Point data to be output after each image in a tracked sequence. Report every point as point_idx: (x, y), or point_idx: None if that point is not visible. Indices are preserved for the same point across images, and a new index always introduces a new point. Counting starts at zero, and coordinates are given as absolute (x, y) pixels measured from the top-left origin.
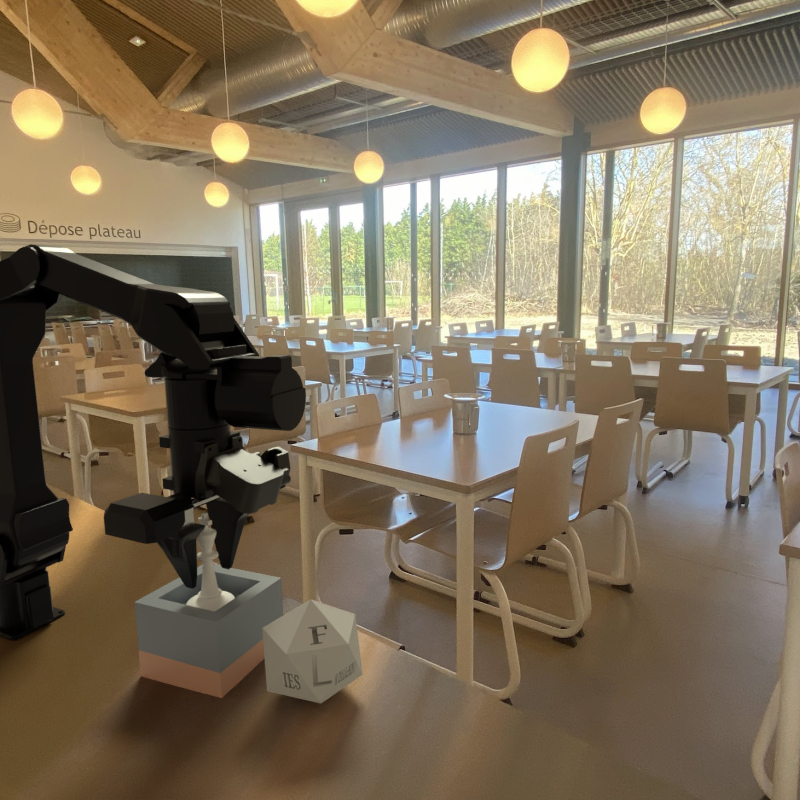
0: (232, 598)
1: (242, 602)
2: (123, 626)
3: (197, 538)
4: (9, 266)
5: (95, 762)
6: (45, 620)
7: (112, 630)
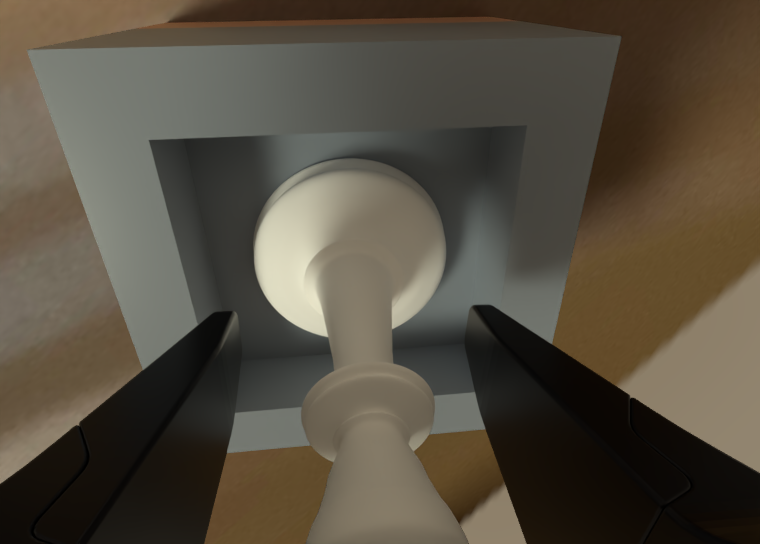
0: (297, 199)
1: (399, 57)
2: None
3: None
4: None
5: (742, 133)
6: None
7: None
